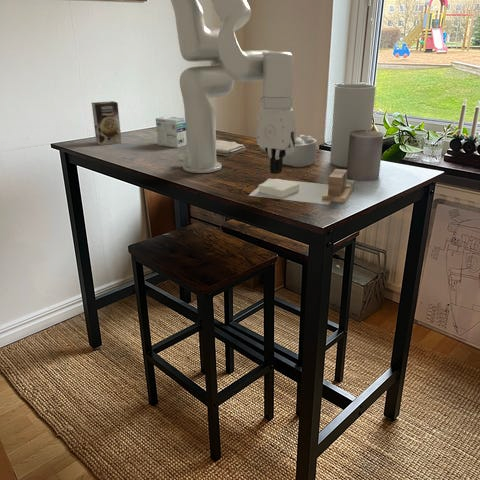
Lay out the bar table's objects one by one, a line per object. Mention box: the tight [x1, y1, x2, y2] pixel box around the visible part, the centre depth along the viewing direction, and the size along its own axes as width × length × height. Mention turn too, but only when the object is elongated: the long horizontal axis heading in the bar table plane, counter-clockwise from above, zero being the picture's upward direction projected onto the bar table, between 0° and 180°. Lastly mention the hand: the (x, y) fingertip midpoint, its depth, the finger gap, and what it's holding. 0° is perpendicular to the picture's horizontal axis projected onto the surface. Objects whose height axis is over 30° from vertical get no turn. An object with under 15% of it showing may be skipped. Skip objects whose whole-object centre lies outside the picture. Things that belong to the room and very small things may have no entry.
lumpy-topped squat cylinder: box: [282, 134, 317, 168], centre depth 162 cm, size 10×13×9 cm
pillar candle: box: [346, 129, 385, 182], centre depth 141 cm, size 10×10×15 cm
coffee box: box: [91, 101, 123, 146], centre depth 192 cm, size 9×6×16 cm
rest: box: [322, 184, 354, 203], centre depth 128 cm, size 6×12×2 cm, turn 158°
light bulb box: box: [155, 115, 187, 148], centre depth 188 cm, size 11×7×11 cm, turn 58°
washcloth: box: [216, 139, 247, 157], centre depth 180 cm, size 12×18×3 cm, turn 54°
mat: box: [248, 178, 332, 206], centre depth 132 cm, size 22×17×1 cm
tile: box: [257, 178, 300, 198], centre depth 131 cm, size 2×8×8 cm
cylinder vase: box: [329, 83, 377, 169], centre depth 155 cm, size 12×12×25 cm
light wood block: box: [328, 168, 355, 196], centre depth 129 cm, size 14×6×5 cm, turn 158°
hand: (276, 172), depth 130 cm, fingers closed
